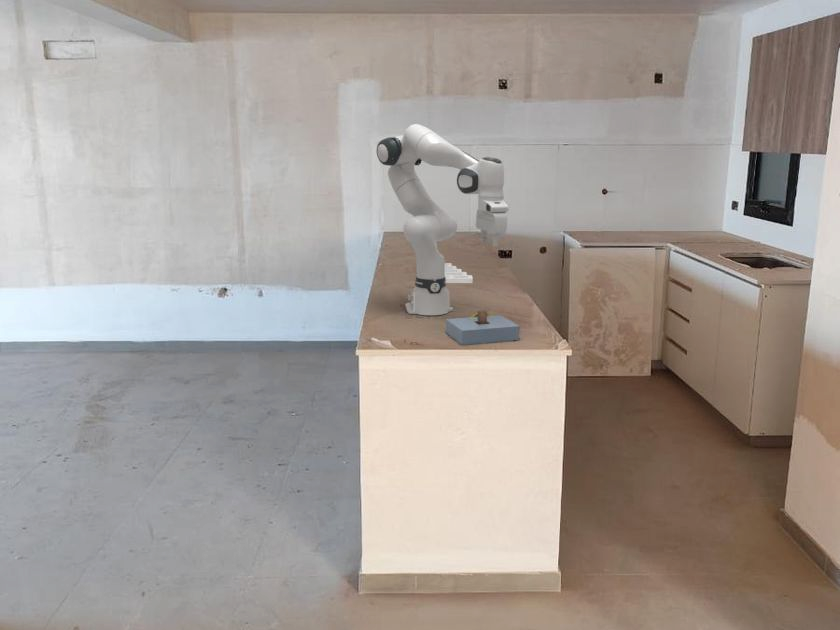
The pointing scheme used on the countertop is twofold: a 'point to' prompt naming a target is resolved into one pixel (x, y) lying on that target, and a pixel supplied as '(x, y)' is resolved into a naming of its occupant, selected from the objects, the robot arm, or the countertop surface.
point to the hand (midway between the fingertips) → (490, 244)
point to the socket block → (482, 330)
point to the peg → (482, 317)
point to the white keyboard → (456, 275)
